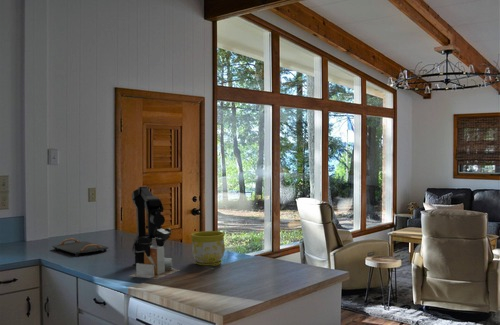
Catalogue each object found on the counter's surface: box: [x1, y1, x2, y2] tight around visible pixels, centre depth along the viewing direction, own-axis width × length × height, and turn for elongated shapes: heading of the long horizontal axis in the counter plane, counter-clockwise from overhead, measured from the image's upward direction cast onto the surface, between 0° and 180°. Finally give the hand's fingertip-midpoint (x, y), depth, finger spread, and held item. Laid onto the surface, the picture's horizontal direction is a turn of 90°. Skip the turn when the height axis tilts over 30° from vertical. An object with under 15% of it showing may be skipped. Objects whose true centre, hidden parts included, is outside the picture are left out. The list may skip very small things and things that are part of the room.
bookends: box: [133, 257, 176, 279], centre depth 262 cm, size 20×10×6 cm, turn 152°
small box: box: [144, 245, 165, 275], centre depth 262 cm, size 8×6×13 cm
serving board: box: [51, 238, 109, 257], centre depth 331 cm, size 39×23×6 cm, turn 43°
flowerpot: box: [190, 230, 226, 267], centre depth 282 cm, size 18×18×16 cm
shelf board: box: [129, 268, 181, 280], centre depth 262 cm, size 20×17×1 cm
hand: (154, 254), depth 262 cm, fingers open, 9 cm apart
